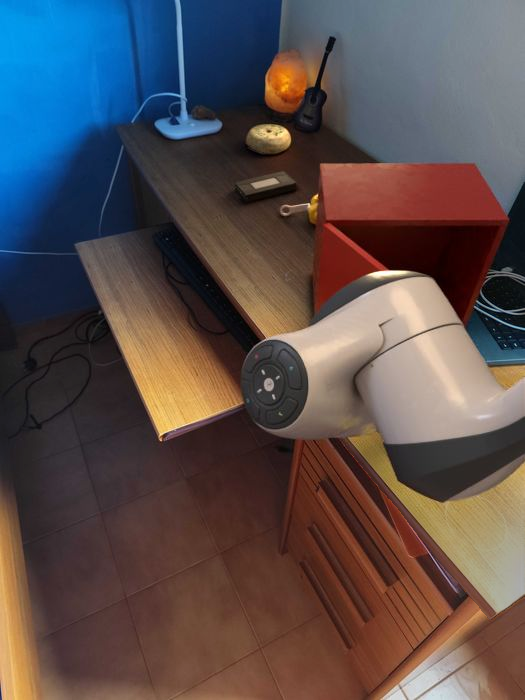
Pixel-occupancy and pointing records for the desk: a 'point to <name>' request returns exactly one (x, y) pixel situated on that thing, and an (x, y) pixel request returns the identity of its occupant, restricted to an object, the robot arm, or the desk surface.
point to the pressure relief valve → (304, 209)
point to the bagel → (268, 139)
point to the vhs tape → (265, 186)
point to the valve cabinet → (415, 222)
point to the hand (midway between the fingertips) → (388, 399)
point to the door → (341, 263)
